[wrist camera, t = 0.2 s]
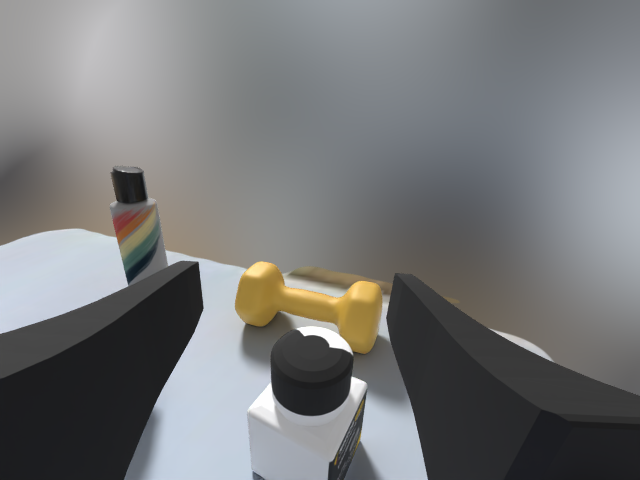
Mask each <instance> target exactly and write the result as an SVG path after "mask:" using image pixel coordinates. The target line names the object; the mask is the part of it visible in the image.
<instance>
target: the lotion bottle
mask: <svg viewBox="0 0 640 480" xmlns="http://www.w3.org/2000/svg"><path fill="white" fill-rule="evenodd" d="M110 174H111V177H112V182H113V187H114V191H115V195H116V199H117V201H116V202H113V203H111V205H110V210H111V215H112V219H113V224H114V228H115V232H116V236H117V240H118V245H119V249H120V253H121V257H122V261H123V265H124V270H125V274H126V278H127V282H128V286H130V285H133V284H135V283H136V282H138V281H140V280H142V279H144V278H146V277H148V276H150V275H152V274H154V273H156V272H158V271H160V270H162V269H164V268H166V267H168V263H167V257H166V252H165V246H164V241H163V235H162V229H161V223H160V217H159V212H158V207H157V202H156V201H155V200H154V199H150V198H148V194H147V188H146V182H145V177H144V171H143V170H142V169H141V168H138V167H126V166H115V167H113V171H112V172H110Z"/></svg>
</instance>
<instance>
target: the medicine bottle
mask: <svg viewBox="0 0 640 480" xmlns="http://www.w3.org/2000/svg"><path fill="white" fill-rule="evenodd" d="M352 369H353V353H352V350H351V348H350V346H349V344H348V343H347V342H346V341H345V340H344V339H343V338H342V337H341V336H340V335H338V334H337V333H335V332H333V331H331V330H329V329H325V328H321V327H302V328H298V329H295V330H292V331H290V332H288V333H287V334H285V335H284V336H283V337H281V338H280V339H279V340H278V341H277V342H276V344H275V345H274V347H273V349H272V352H271V383H270V384H269V385H268V387H267V388H266V389H265V390H264V391H263V392H262V394H261V395H260V396H259V397H258V398H257V399H256V401H255V402H254V403H253V404H252V405H251V407H250V408H249V409H248V411H247V416H248V429H249V441H250V454H251V467H252V470H253V471H254V472H255V473H257V474H258V475H260V476H261V477H263V478H264V479H265V480H344V477H345V475H346V472H347V470H348V468H349V465H350V463H351V460H352V458H353V456H354V453H355V451H356V448H357V446H358V444H359V441H360V437H361V430H362V422H363V415H364V408H365V400H366V393H367V384H366V383H365V382H364V381H361V380H359V379H357V378H354V377H352Z"/></svg>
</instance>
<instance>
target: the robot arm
mask: <svg viewBox="0 0 640 480" xmlns="http://www.w3.org/2000/svg"><path fill="white" fill-rule="evenodd" d="M202 311H203V299H202V290H201V281H200V271H199V262H193V261H180V262H177V263H175V264H173V265H170V266H168V267H166V268H164V269H162V270H160V271H158V272H156V273H154V274H152V275H150V276H148V277H146V278H144V279H142V280H140V281H138V282H136V283H135V284H133V285H130V286H128V287H126V288H124V289H122V290H120V291H118V292H115V293H113V294H111V295H109V296H107V297H105V298H102V299H100V300H98V301H95V302H93V303H91V304H88V305H86V306H83V307H81V308H78V309H75V310H73V311H70V312H67V313H65V314H62V315H59V316H56V317H54V318H50V319H47V320H44V321H41V322H38V323H35V324H32V325H28V326H25V327H22V328H19V329H16V330H13V331H9V332H6V333H2V334H0V480H124V477H125V475H126V472H127V469H128V467H129V464H130V462H131V459H132V457H133V455H134V452H135V450H136V447H137V445H138V442H139V440H140V438H141V435H142V433H143V430H144V428H145V426H146V423H147V421H148V419H149V417H150V414H151V412H152V410H153V408H154V405H155V403H156V401H157V399H158V397H159V395H160V393H161V391H162V389H163V387H164V385H165V384H166V382H167V380H168V378H169V376H170V375H171V373H172V371H173V369H174V368H175V366H176V364H177V362H178V361H179V359H180V357H181V355H182V353H183V352H184V350H185V348H186V346H187V344H188V343H189V341H190V339H191V337H192V335H193V334H194V332H195V329H196V327H197V324H198V322H199V319H200V316H201V314H202ZM386 319H387V325H388V331H389V336H390V341H391V344H392V348H393V351H394V354H395V357H396V360H397V363H398V366H399V369H400V372H401V375H402V378H403V381H404V383H405V386H406V389H407V392H408V395H409V398H410V402H411V405H412V409H413V412H414V416H415V421H416V425H417V430H418V434H419V438H420V443H421V448H422V453H423V457H424V462H425V467H426V472H427V477H428V480H640V396H638V395H636V394H633V393H630V392H627V391H624V390H622V389H619V388H616V387H613V386H611V385H608V384H604V383H602V382H599V381H597V380H594V379H591V378H589V377H587V376H584V375H582V374H579V373H577V372H575V371H572V370H570V369H567V368H565V367H563V366H560V365H558V364H556V363H554V362H552V361H549V360H547V359H545V358H543V357H541V356H539V355H537V354H535V353H533V352H531V351H529V350H526V349H524V348H522V347H520V346H518V345H517V344H515V343H513V342H511V341H509V340H507V339H505V338H504V337H502V336H500V335H498V334H497V333H495V332H493V331H492V330H490V329H488V328H486V327H485V326H483V325H482V324H480V323H478V322H477V321H475V320H474V319H472V318H471V317H469V316H468V315H466V314H465V313H463V312H462V311H461V310H459V309H458V308H456V307H455V306H454V305H452V304H451V303H450V302H448V301H447V300H445V299H444V298H443V297H442V296H440V295H439V294H437V293H436V292H435V291H434V290H432V289H431V288H430V287H429V286H427V285H426V284H424V283H423V282H422V281H421V280H419V279H418V278H416V277H415V276H413V275H412V274H399V273H395V276H394V281H393V286H392V291H391V296H390V302H389V307H388V312H387V317H386Z"/></svg>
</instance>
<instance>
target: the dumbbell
mask: <svg viewBox="0 0 640 480" xmlns="http://www.w3.org/2000/svg"><path fill="white" fill-rule="evenodd" d="M235 310H236V312H237V314H238V315H239V316H240V318H241V319H242V320H243V321H244V322H245V323H247V324H250V325H254V326H260V327H262V326H265V325H267V324H268V323H269V322H270V321H271V320H272V319H273V317H274V316H275V315H276V313H277V312H278V311H284V312H287V313H289V314H293V315H297V316H300V317H304V318H309V319H313V320H318V321H323V322H330V323H334V324H335V325H337V327H338V329H339V333H340V336H341V337H342V338H343V339H344V340H345V341H346V342H347V343H348V344H349V346H350V348H351V350H352V351H354V352H358V353H362V354H366V353H368V352H369V351H370V350H371V349H372V347H373V346H374V343H375V340H376V338H377V334H378V330H379V326H380V320H381V314H382V293H381V289H380V287H379V286H378V285H377V284H375V283H371V282H366V281H359V282H356V283H355V284H353V285H352V286H351V287H350V289H349V290H348V291H347V293H346V294H345V295H344V296H342V297H339V298H336V297H332V296H329V295H326V294H322V293H317V292H313V291H308V290H303V289H296V288H289V287H286V286H285V285H284V279H283V276H282V274H281V272H280V270H279V269H278V267H276V265H274V264H272V263H268V262H257V263H255V264H254V265H252V266H251V267H250V268H249V269H248V270H246V271H245V272H244V273H243V275H242V276H241V279H240V282H239V285H238V290H237V295H236V300H235Z"/></svg>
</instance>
